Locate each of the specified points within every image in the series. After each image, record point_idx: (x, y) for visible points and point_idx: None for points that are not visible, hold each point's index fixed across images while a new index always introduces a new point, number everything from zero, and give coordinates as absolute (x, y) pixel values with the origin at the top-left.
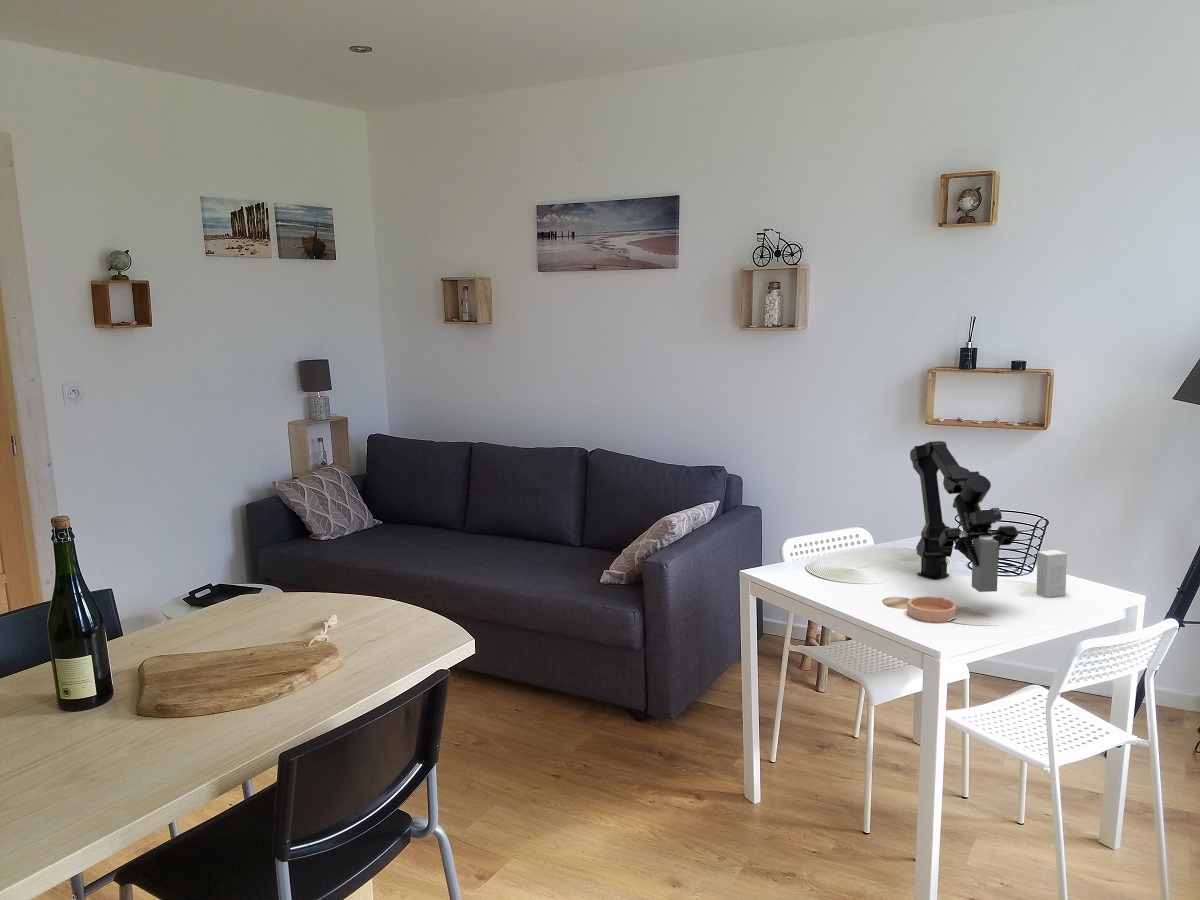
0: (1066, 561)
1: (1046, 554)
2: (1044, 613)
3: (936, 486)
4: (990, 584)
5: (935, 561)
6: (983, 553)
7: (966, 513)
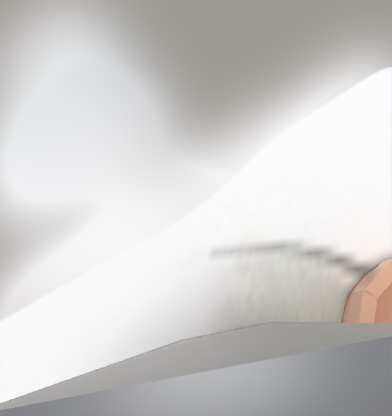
0: None
1: None
2: (20, 389)
3: None
4: (214, 334)
5: None
6: (300, 330)
7: None
